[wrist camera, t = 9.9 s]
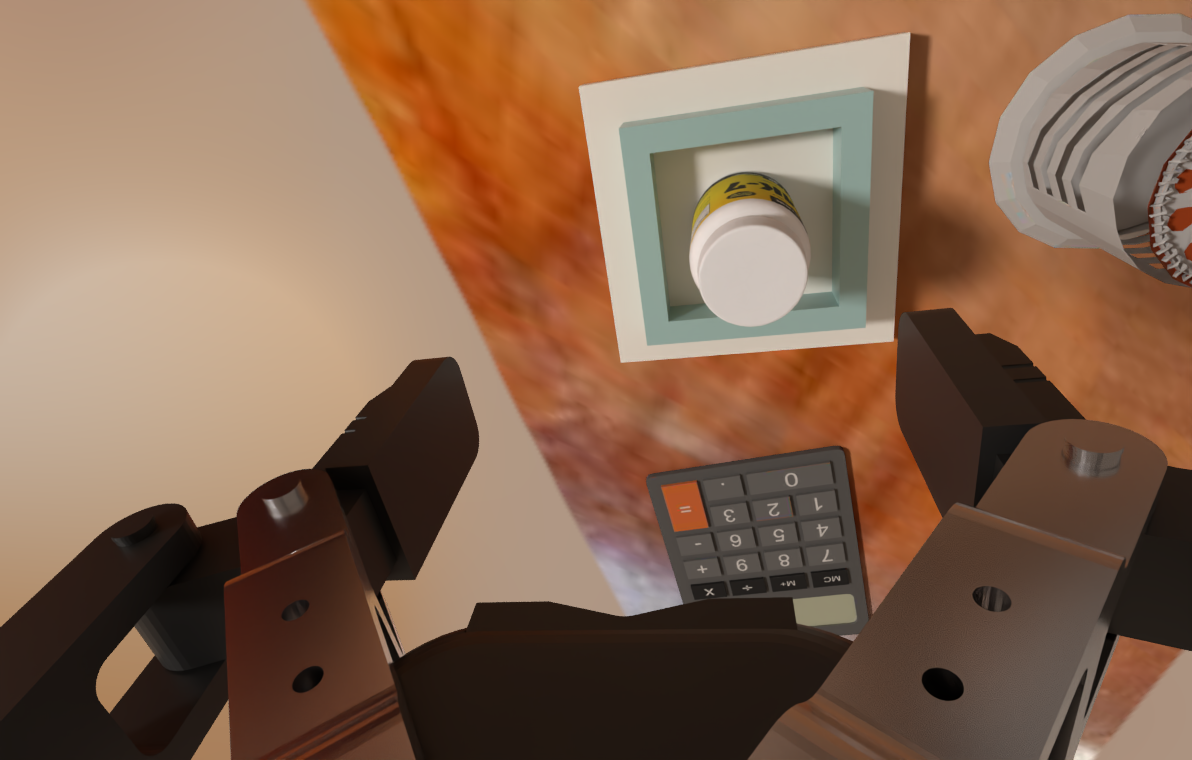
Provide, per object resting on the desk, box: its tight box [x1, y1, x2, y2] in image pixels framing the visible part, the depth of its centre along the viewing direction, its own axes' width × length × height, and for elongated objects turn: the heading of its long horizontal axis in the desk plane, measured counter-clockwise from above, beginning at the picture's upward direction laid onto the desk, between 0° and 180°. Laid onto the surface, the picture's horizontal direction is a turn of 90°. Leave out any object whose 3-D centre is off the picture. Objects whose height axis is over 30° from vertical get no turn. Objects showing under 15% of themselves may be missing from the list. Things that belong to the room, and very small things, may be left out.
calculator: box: [646, 446, 869, 636], centre depth 42 cm, size 12×1×15 cm
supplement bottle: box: [689, 171, 811, 327], centre depth 28 cm, size 5×5×8 cm
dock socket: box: [579, 32, 910, 363], centre depth 31 cm, size 14×14×3 cm
